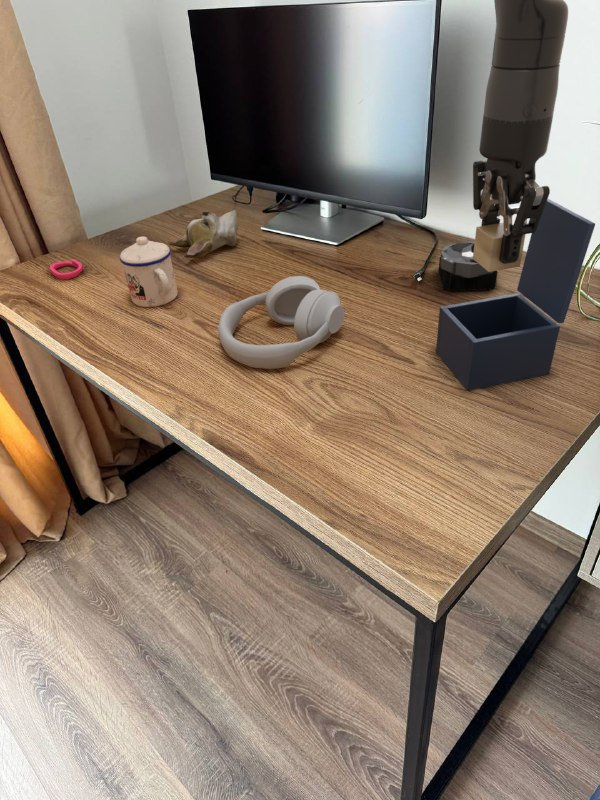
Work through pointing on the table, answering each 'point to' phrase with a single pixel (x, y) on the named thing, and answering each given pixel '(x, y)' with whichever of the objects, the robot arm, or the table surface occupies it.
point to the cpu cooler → (463, 269)
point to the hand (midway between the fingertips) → (497, 253)
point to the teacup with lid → (149, 273)
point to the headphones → (284, 322)
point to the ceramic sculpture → (208, 234)
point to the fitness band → (66, 275)
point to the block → (492, 248)
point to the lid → (555, 259)
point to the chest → (496, 340)
